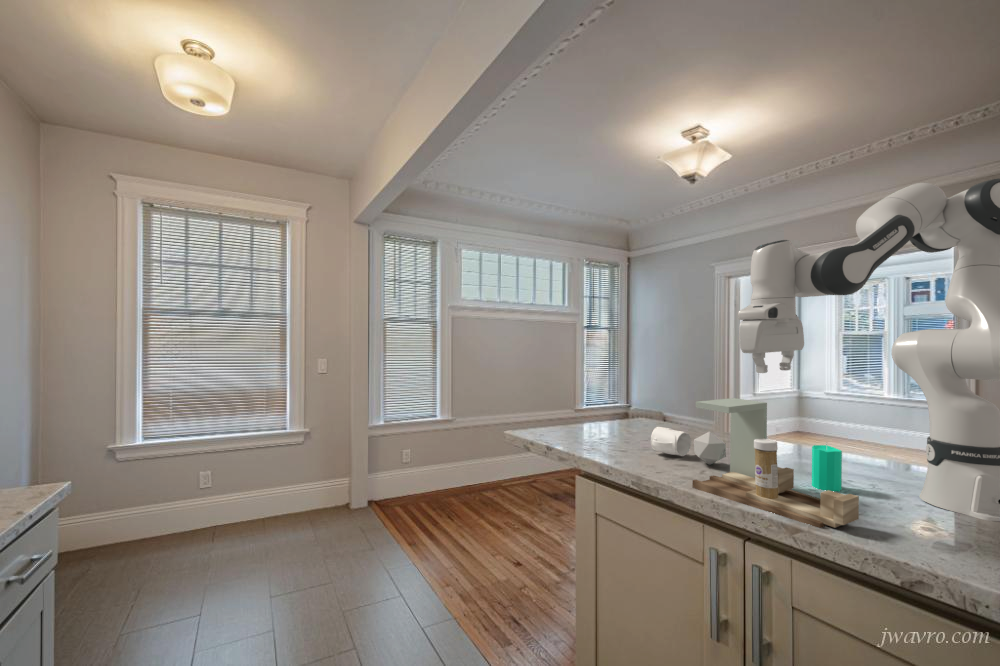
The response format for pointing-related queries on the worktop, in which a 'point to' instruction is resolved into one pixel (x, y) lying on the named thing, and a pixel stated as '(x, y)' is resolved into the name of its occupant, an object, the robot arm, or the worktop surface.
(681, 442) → the mug
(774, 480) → the sprinkles bottle
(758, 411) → the shelf
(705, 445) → the die
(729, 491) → the lane board
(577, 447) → the worktop surface
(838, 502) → the bottle strip
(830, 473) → the candle
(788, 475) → the wooden slider block
